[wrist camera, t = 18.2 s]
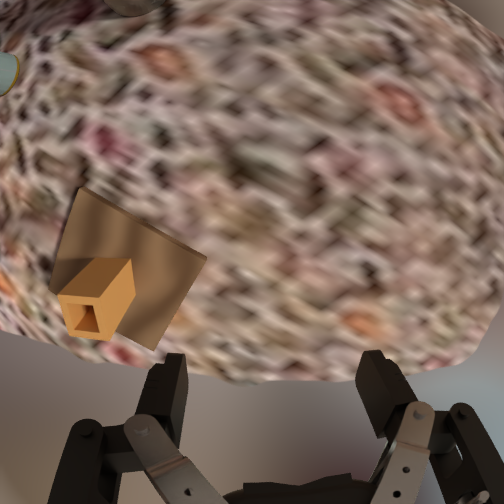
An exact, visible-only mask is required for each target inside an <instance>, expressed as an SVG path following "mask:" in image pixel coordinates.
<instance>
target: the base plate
mask: <svg viewBox="0 0 504 504" xmlns="http://www.w3.org/2000/svg"><path fill="white" fill-rule="evenodd" d="M94 258H131V264H132V272H133V279H134V286H135V293H136V296H135V297H134V299H133V301H132V302H131V304H130V306H129V308H128V309H127V311H126V313H125V314H124V316H123V318H122V320H121V321H120V323H119V325H118V327H117V328H116V330H115V331H116V332H118V333H120V334H121V335H123V336H125V337H127V338H129V339H131V340H133V341H134V342H136V343H138V344H140V345H142V346H144V347H146V348H148V349H150V350H152V351H154V350H155V348H156V347H157V345H158V343H159V341H160V339H161V338H162V336H163V334H164V332H165V331H166V329H167V327H168V325H169V324H170V322H171V320H172V318H173V317H174V315H175V313H176V311H177V310H178V308H179V306H180V305H181V303H182V301H183V299H184V298H185V296H186V294H187V293H188V291H189V289H190V288H191V286H192V284H193V282H194V281H195V279H196V277H197V276H198V274H199V272H200V271H201V269H202V267H203V266H204V264H205V262H206V260H207V257H206V256H204V255H203V254H201V253H199V252H197V251H195V250H194V249H192V248H190V247H188V246H186V245H185V244H183V243H181V242H179V241H178V240H176V239H174V238H172V237H170V236H169V235H167V234H165V233H163V232H162V231H160V230H158V229H156V228H155V227H153V226H151V225H149V224H148V223H146V222H144V221H142V220H141V219H139V218H137V217H136V216H134V215H132V214H130V213H129V212H127V211H125V210H123V209H122V208H120V207H118V206H117V205H115V204H113V203H111V202H110V201H108V200H106V199H105V198H103V197H101V196H100V195H98V194H96V193H95V192H93V191H91V190H89V189H88V188H86V187H81V188H79V190H78V193H77V196H76V198H75V201H74V204H73V206H72V209H71V212H70V215H69V218H68V221H67V224H66V227H65V230H64V233H63V236H62V240H61V243H60V246H59V250H58V253H57V257H56V260H55V264H54V268H53V272H52V276H51V280H50V284H49V288H48V290H50V291H51V292H53V293H54V294H55V295H57V296H58V293H59V292H60V291H61V290H62V289H63V288H64V287H65V286H66V285H67V284H68V283H69V282H70V281H71V280H72V279H73V278H74V277H75V276H76V275H78V274H79V273H80V272H81V271H82V270H83V269H84V268H85V267H86V266H87V265H88V264H89V263H90V262H91V261H92V260H93V259H94Z"/></svg>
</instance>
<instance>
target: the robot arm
mask: <svg viewBox="0 0 504 504" xmlns="http://www.w3.org/2000/svg"><path fill="white" fill-rule="evenodd" d="M103 1H104V2H105V3H106V4H107V5H108V6H109V7H110V8H112V9H113V10H114V11H115V12H116V13H118V14H120V15H122V16H128V17H132V16H139V15H143V14H146V13H149V12H151V11H153V10H154V9H156V8H158V7H159V6H160V5H161V4H163V3H164V2H165V1H166V0H103ZM355 382H356V387H357V390H358V392H359V395H360V397H361V399H362V402H363V404H364V406H365V409H366V412H367V414H368V416H369V419H370V421H371V424H372V426H373V429H374V431H375V434H376V436H377V438H383V437H386V438H387V440H388V441H387V443H386V445H385V447H384V449H383V452H382V454H381V456H380V459H379V461H378V463H377V465H376V467H375V470H374V472H373V474H372V476H371V477H370V479H369V481H368V482H366V481H363V480H356V479H352V477H351V473H346V474H341V475H335V476H328V477H324V478H321V479H318V480H316V481H313V482H310V483H307V484H304V485H300V486H296V485H288V484H280V483H273V482H261V483H243V489H241V490H237V491H233V492H231V493H228V494H226V495H224V496H221V495H220V494H219V493H218V492H217V491H216V490H215V488H214V487H213V486H212V485H211V484H210V483H209V482H208V480H206V478H205V477H204V476H203V475H202V474H201V472H200V471H199V470H198V469H197V468H196V466H195V465H194V464H193V463H192V461H191V460H190V459H188V457H186V456H185V457H184V456H183V455H182V454H181V453H180V452H179V450H178V449H179V445H180V438H181V432H182V425H183V419H184V412H185V406H186V400H187V394H188V373H187V365H186V357H185V354H180V353H167V356H166V360H165V363H164V364H160V363H156V364H155V365H154V366H153V367H152V368H151V369H150V370H149V372H148V375H147V378H146V381H145V384H144V388H143V390H142V394H141V396H140V400H139V403H138V406H137V409H136V412H135V415H134V416H132V417H130V418H129V419H128V420H127V421H126V422H125V423H124V424H122V425H117V426H107V427H102V425H101V424H100V423H99V422H97V421H96V420H93V419H82V420H80V421H78V422H76V423H75V424H74V425H73V426H72V428H71V431H70V433H69V436H68V439H67V442H66V445H65V448H64V450H63V453H62V456H61V459H60V463H59V466H58V469H57V472H56V475H55V479H54V482H53V485H52V489H51V492H50V496H49V499H48V503H47V504H117V500H118V495H119V488H120V483H121V477H122V473H125V472H135V471H144V472H145V474H146V475H147V477H148V478H149V480H150V481H151V483H152V485H153V486H154V488H155V489H156V491H157V492H158V493H159V495H160V496H161V498H162V499H163V500H164V502H165V503H166V504H414V502H415V499H416V497H417V494H418V491H419V488H420V485H421V482H422V479H423V476H424V473H425V469H426V466H427V463H428V459H429V460H430V463H431V465H432V468H433V470H434V473H435V476H436V478H437V481H438V484H439V486H440V489H441V492H442V495H443V497H444V500H445V503H446V504H504V463H503V461H502V459H501V457H500V455H499V453H498V451H497V450H496V448H495V446H494V444H493V442H492V440H491V439H490V437H489V435H488V433H487V431H486V430H485V428H484V426H483V424H482V423H481V421H480V419H479V418H478V416H477V414H476V413H475V411H474V409H473V408H472V407H471V406H469V405H468V404H466V403H456V404H454V405H453V406H452V407H451V409H450V410H449V411H434V410H433V408H432V407H431V406H430V405H429V404H427V403H425V402H421V401H418V399H417V397H416V395H415V394H414V392H413V390H412V389H411V387H410V385H409V384H408V382H407V380H406V379H405V377H404V375H403V374H402V372H401V370H400V369H399V367H398V365H397V364H395V363H394V362H393V361H392V360H390V359H386V358H385V357H384V355H383V353H382V352H381V350H369V351H364V352H363V354H362V357H361V360H360V363H359V367H358V370H357V373H356V377H355ZM456 444H457V446H458V448H459V450H460V452H461V454H462V459H461V456H460V454H459V452H458V450H457V448H456Z"/></svg>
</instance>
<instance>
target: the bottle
mask: <svg viewBox="0 0 504 504" xmlns="http://www.w3.org/2000/svg"><path fill="white" fill-rule="evenodd" d="M18 75H19V60H18V58H17V57H16V56H15V55H12V54H8V53H4V52H0V96H2V95H4V94H6V93H7V92H8V91H9V90H10V89H11V88H12V87H13V85H14V84H15V82H16V80H17V78H18Z"/></svg>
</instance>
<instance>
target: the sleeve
mask: <svg viewBox="0 0 504 504" xmlns="http://www.w3.org/2000/svg"><path fill="white" fill-rule="evenodd" d="M135 296H136V293H135V286H134V279H133V272H132V264H131V258H94V259H93V260H92V261H91V262H90V263H89V264H88V265H87V266H86V267H85V268H84V269H83V270H82V271H81V272H80V273H79V274H78V275H76V276H75V277H74V278H73V279H72V280H71V281H70V282H69V283H68V284H67V285H66V286H65V287H64V288H63V289H62V290H61V291H60V292H59V293H58V298H59V302H60V306H61V309H62V313H63V316H64V320H65V323H66V326H67V330H68V333H69V336H75V337H82V338H89V339H97V340H105V341H110V339H111V337H112V335H113V334H114V332H115V330H116V328H117V327H118V325H119V323H120V321H121V320H122V318H123V316H124V314H125V313H126V311H127V309H128V308H129V306H130V304H131V302H132V301H133V299H134V297H135Z"/></svg>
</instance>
